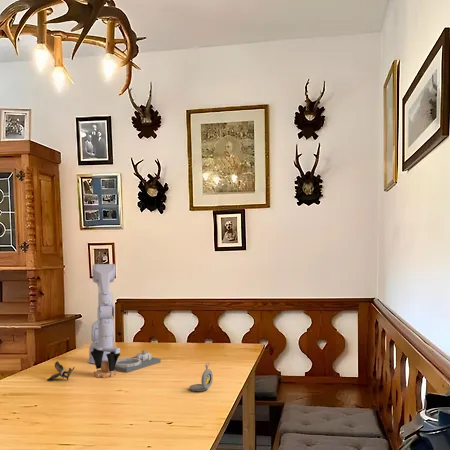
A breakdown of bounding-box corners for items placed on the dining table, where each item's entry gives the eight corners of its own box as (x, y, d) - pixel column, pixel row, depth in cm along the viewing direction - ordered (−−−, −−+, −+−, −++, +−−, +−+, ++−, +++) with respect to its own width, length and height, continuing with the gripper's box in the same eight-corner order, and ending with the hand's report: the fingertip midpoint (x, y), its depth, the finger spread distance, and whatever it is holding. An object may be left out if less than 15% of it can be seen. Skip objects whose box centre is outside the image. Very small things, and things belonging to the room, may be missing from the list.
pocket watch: (189, 387, 168) (189, 359, 169) (212, 386, 169) (212, 358, 169) (189, 393, 160) (189, 364, 161) (213, 393, 161) (213, 364, 161)
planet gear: (89, 376, 183) (89, 362, 183) (105, 371, 190) (105, 357, 190) (104, 379, 178) (104, 364, 179) (120, 374, 185) (120, 360, 186)
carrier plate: (104, 368, 195) (104, 356, 195) (139, 358, 213) (139, 347, 213) (126, 372, 188) (126, 360, 188) (160, 362, 206) (160, 350, 206)
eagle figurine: (76, 373, 182) (56, 368, 184) (73, 361, 179) (53, 355, 180) (65, 389, 176) (45, 383, 178) (62, 376, 172) (41, 370, 174)
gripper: (85, 335, 186) (85, 369, 185) (110, 338, 178) (110, 374, 177) (99, 332, 192) (98, 365, 191) (124, 335, 184) (123, 370, 183)
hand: (105, 369), depth 184 cm, fingers open, 7 cm apart
